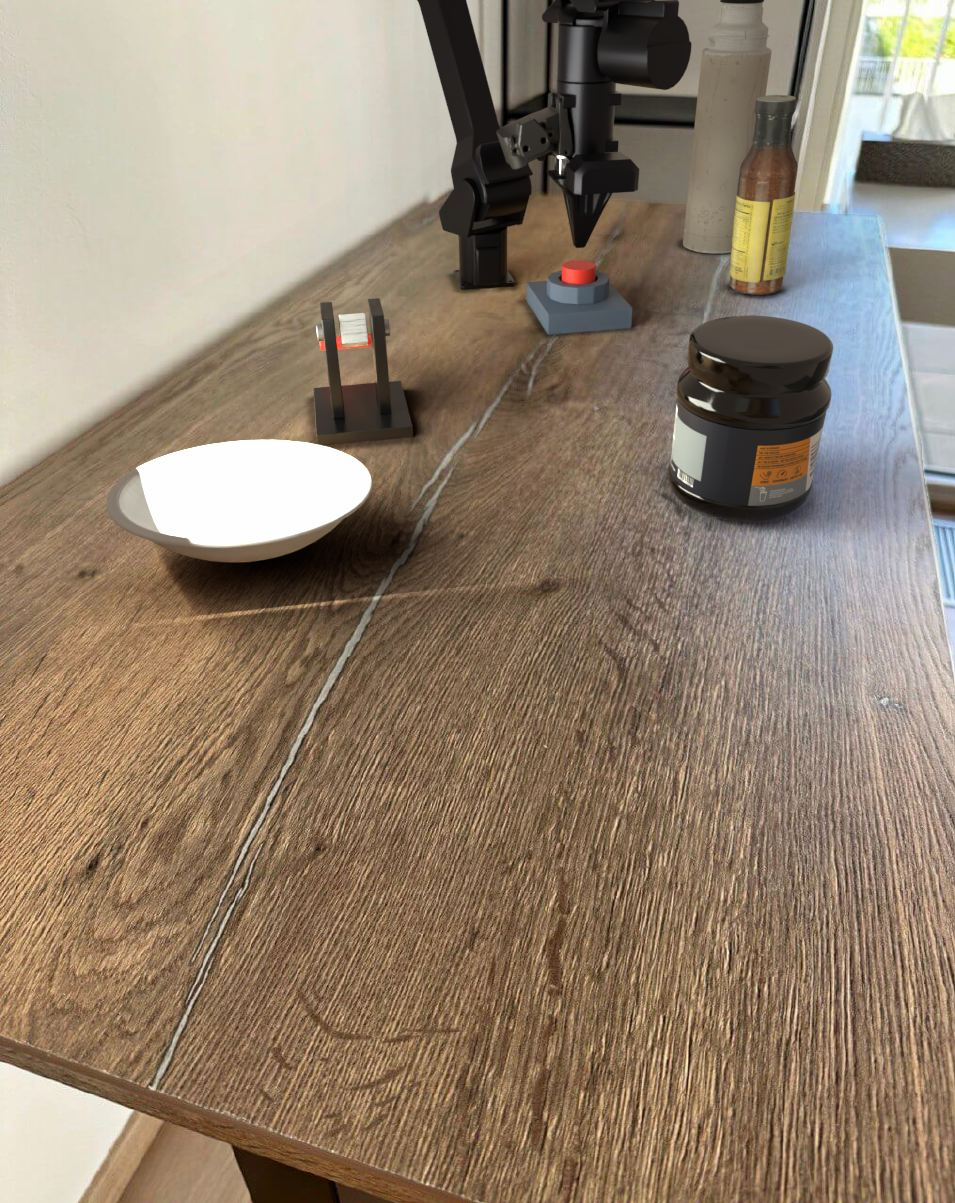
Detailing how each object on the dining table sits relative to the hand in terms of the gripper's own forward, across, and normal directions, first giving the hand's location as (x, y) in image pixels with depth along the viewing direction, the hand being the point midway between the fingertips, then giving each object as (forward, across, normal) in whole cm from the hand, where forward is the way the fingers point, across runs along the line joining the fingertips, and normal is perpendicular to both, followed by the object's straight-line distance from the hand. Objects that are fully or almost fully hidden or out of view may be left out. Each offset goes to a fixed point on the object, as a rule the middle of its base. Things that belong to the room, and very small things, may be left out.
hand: (579, 246), depth 101 cm
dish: (+7, +42, -34) cm, 55 cm away
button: (+4, 0, 0) cm, 4 cm away
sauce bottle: (+7, -4, +22) cm, 24 cm away
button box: (+7, 0, 0) cm, 7 cm away
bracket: (+7, +22, -25) cm, 34 cm away
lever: (+3, +18, -25) cm, 31 cm away
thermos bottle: (+7, -22, +24) cm, 33 cm away
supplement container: (+7, +41, +2) cm, 42 cm away
